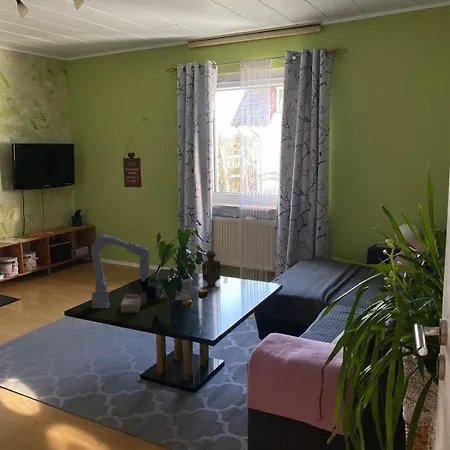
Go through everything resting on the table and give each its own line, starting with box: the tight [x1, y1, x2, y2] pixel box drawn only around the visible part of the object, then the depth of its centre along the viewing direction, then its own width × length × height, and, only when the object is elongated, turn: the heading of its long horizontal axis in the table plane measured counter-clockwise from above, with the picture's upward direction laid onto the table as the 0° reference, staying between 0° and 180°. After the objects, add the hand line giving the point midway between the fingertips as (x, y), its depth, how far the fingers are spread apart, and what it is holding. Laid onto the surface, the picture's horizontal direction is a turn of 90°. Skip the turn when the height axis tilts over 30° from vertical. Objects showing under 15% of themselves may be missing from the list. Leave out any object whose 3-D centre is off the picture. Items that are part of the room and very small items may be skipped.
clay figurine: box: [201, 250, 221, 288], centre depth 331 cm, size 13×10×25 cm
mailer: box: [120, 298, 142, 314], centre depth 287 cm, size 10×13×4 cm
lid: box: [120, 294, 142, 307], centre depth 286 cm, size 10×13×3 cm
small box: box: [145, 281, 163, 304], centre depth 301 cm, size 11×6×10 cm, turn 164°
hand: (144, 289), depth 292 cm, fingers open, 6 cm apart
